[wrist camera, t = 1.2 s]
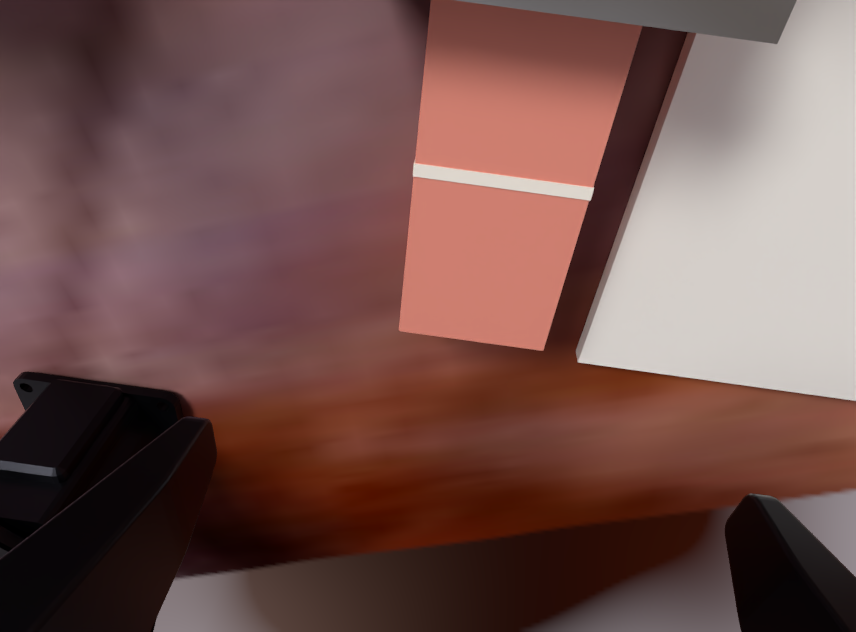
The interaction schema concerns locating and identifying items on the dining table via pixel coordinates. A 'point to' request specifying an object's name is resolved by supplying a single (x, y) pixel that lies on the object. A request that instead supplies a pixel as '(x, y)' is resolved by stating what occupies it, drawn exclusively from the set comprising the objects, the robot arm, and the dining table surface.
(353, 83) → the dining table surface
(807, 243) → the tile
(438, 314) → the pink striped block
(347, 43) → the dining table surface
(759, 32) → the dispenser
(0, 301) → the dining table surface
